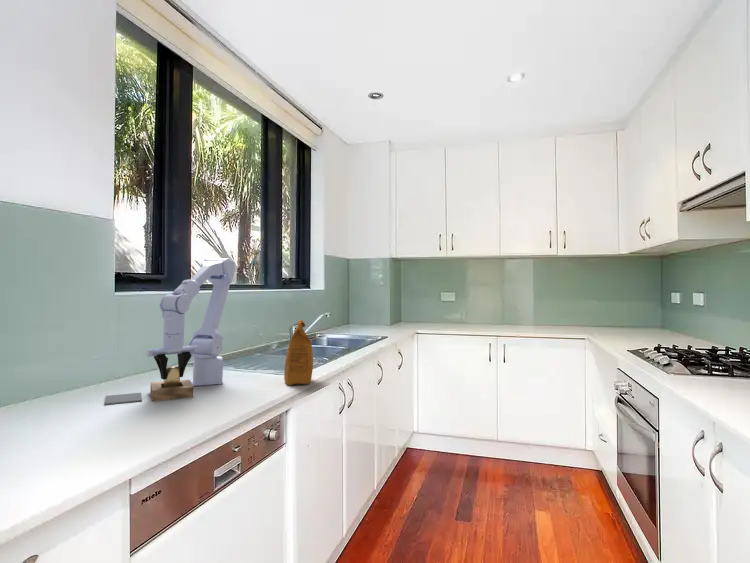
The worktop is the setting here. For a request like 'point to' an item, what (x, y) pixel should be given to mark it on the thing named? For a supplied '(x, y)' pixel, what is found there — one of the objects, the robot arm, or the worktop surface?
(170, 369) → the end cover
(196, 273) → the robot arm
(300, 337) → the coffee package
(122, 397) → the mat
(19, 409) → the worktop surface
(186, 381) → the housing
